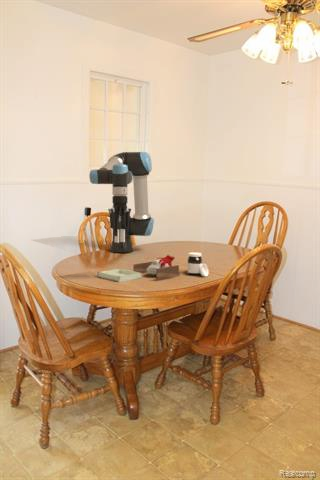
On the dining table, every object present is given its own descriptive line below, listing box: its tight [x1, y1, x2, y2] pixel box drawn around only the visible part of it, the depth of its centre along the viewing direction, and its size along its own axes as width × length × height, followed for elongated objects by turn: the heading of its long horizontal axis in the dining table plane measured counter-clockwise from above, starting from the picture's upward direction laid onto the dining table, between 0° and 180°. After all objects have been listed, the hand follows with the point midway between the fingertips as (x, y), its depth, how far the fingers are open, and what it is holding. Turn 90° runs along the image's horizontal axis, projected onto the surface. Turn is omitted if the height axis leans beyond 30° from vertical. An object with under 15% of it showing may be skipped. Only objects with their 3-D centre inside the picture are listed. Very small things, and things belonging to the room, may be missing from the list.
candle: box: [146, 254, 175, 276], centre depth 218 cm, size 9×11×15 cm
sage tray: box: [97, 268, 143, 283], centre depth 213 cm, size 17×15×3 cm
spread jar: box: [187, 252, 209, 278], centre depth 222 cm, size 12×11×12 cm
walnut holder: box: [132, 261, 181, 282], centre depth 218 cm, size 18×17×6 cm
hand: (119, 241), depth 211 cm, fingers open, 3 cm apart
